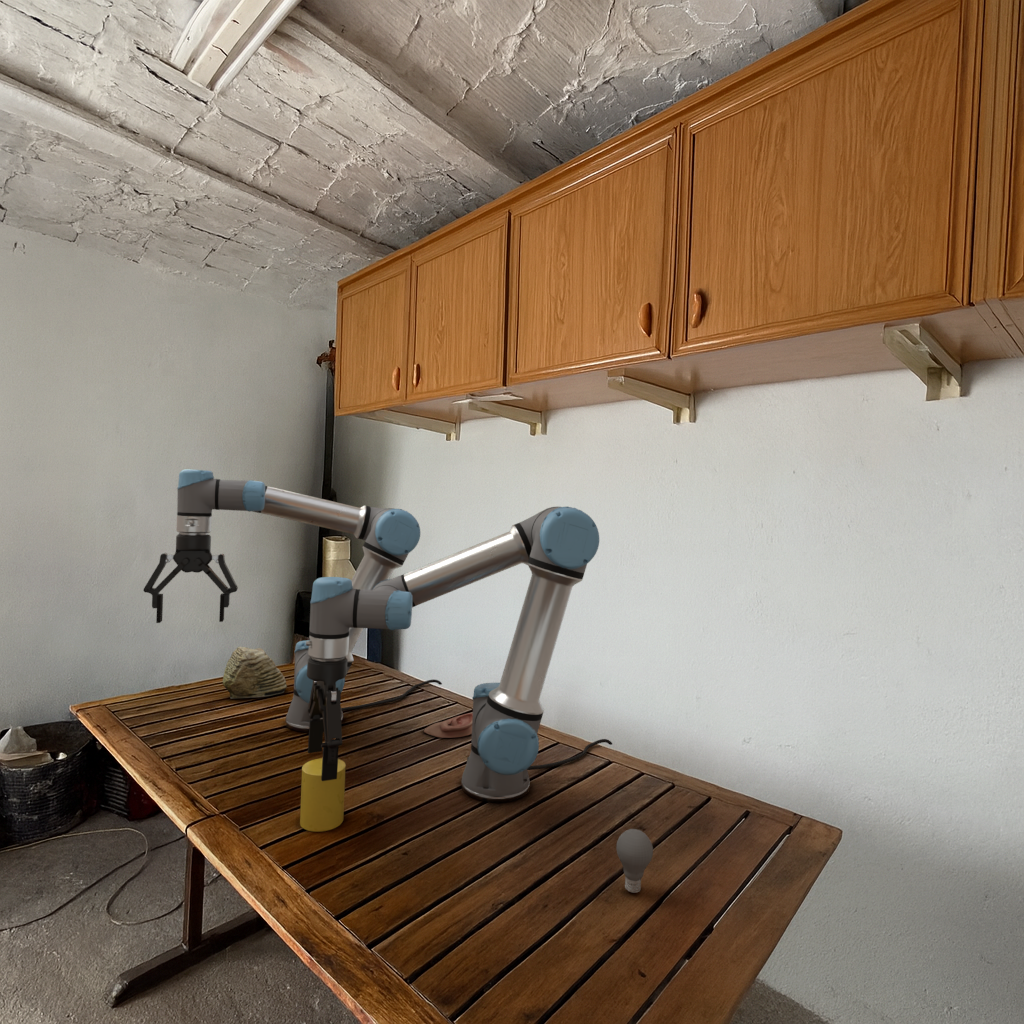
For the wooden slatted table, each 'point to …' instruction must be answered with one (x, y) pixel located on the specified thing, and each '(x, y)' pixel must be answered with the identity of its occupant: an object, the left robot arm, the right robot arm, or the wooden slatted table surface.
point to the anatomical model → (452, 727)
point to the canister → (321, 797)
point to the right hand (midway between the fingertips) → (321, 765)
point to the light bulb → (634, 857)
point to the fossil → (252, 674)
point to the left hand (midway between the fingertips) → (190, 621)
